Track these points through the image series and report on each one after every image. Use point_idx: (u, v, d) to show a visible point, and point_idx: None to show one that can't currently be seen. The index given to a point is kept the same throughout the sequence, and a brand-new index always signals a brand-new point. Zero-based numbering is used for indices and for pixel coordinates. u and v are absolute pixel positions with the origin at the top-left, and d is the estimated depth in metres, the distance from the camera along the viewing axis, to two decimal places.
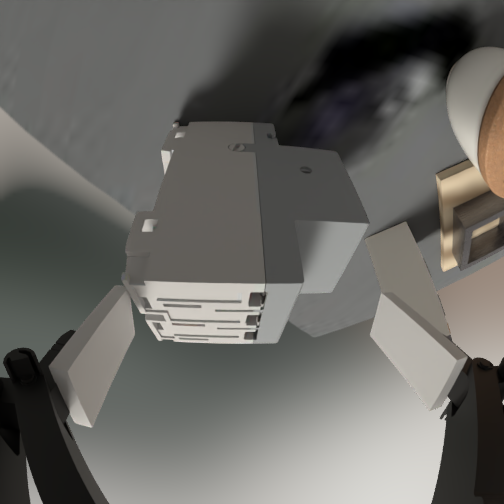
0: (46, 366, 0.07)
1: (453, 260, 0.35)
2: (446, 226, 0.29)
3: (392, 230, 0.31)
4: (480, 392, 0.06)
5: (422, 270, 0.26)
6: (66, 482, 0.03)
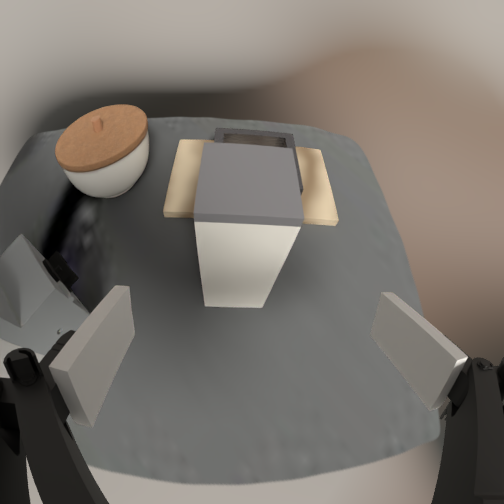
0: (46, 366, 0.07)
1: (317, 206, 0.35)
2: None
3: None
4: (480, 392, 0.06)
5: None
6: (66, 482, 0.03)
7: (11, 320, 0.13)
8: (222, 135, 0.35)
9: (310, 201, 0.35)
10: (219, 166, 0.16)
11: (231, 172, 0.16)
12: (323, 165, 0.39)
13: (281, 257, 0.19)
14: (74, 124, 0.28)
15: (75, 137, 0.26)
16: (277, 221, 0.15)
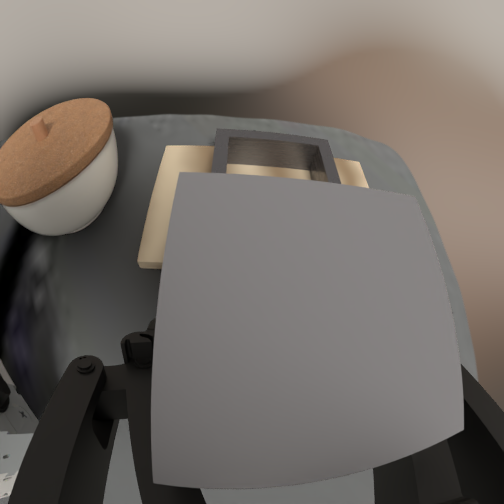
0: None
1: None
2: None
3: None
4: None
5: None
6: None
7: None
8: (226, 140, 0.23)
9: None
10: (230, 275, 0.05)
11: (276, 302, 0.05)
12: (366, 185, 0.28)
13: None
14: (18, 130, 0.16)
15: (13, 150, 0.15)
16: None
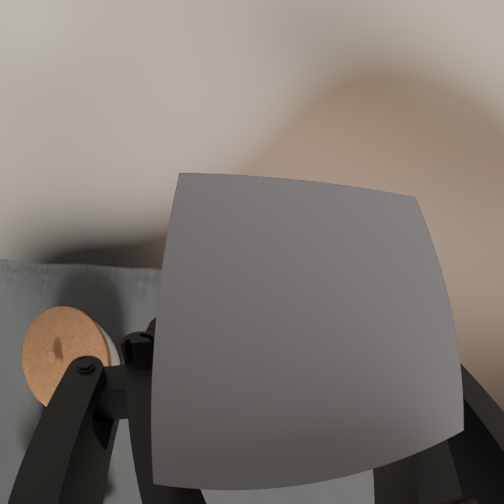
0: None
1: None
2: None
3: None
4: None
5: None
6: None
7: None
8: None
9: None
10: (230, 276, 0.05)
11: (275, 304, 0.05)
12: None
13: None
14: (31, 333, 0.23)
15: (38, 363, 0.21)
16: None
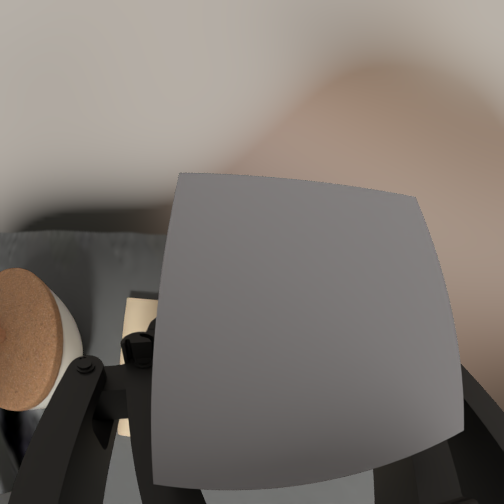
0: None
1: None
2: None
3: None
4: None
5: None
6: None
7: None
8: None
9: None
10: (230, 276, 0.05)
11: (276, 303, 0.05)
12: None
13: None
14: None
15: None
16: None
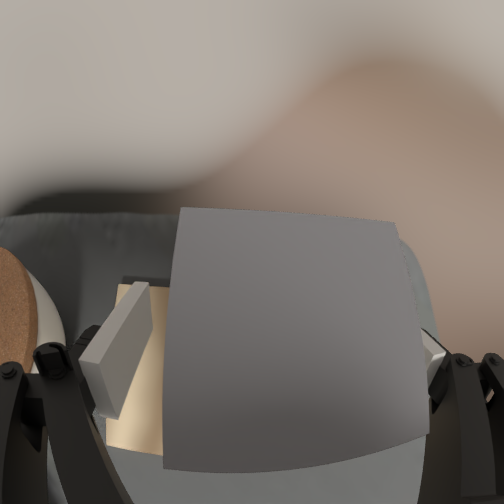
0: (73, 360, 0.07)
1: None
2: None
3: None
4: (461, 389, 0.06)
5: None
6: (92, 476, 0.03)
7: None
8: None
9: None
10: (224, 300, 0.06)
11: (261, 324, 0.05)
12: None
13: None
14: None
15: None
16: None
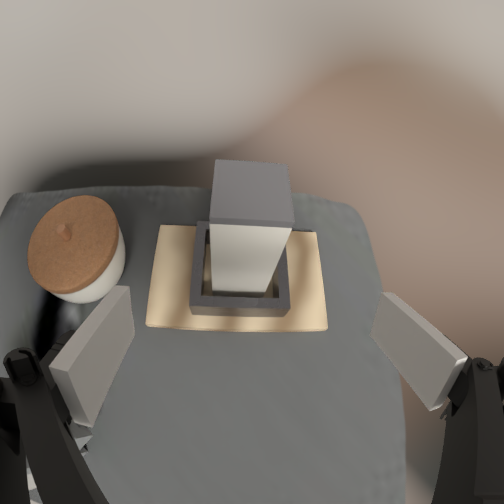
0: (46, 366, 0.07)
1: (306, 313, 0.33)
2: (219, 325, 0.31)
3: None
4: (480, 392, 0.06)
5: None
6: (66, 482, 0.03)
7: None
8: (204, 232, 0.33)
9: (299, 308, 0.33)
10: (228, 180, 0.21)
11: (238, 185, 0.21)
12: (317, 255, 0.37)
13: (277, 252, 0.23)
14: (43, 221, 0.26)
15: (44, 245, 0.24)
16: (273, 223, 0.20)
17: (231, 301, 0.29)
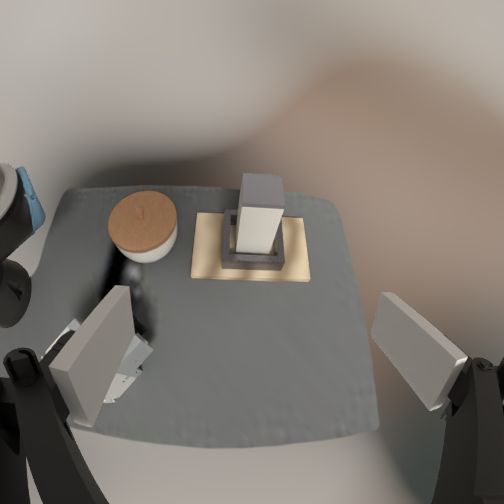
0: (47, 366, 0.07)
1: (295, 269, 0.52)
2: (239, 275, 0.50)
3: None
4: (480, 392, 0.06)
5: None
6: (66, 482, 0.03)
7: None
8: (229, 216, 0.52)
9: (291, 265, 0.52)
10: (250, 184, 0.39)
11: (255, 187, 0.39)
12: (303, 233, 0.56)
13: (276, 224, 0.42)
14: (118, 207, 0.45)
15: (123, 222, 0.43)
16: (274, 206, 0.38)
17: (248, 257, 0.48)
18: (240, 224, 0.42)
